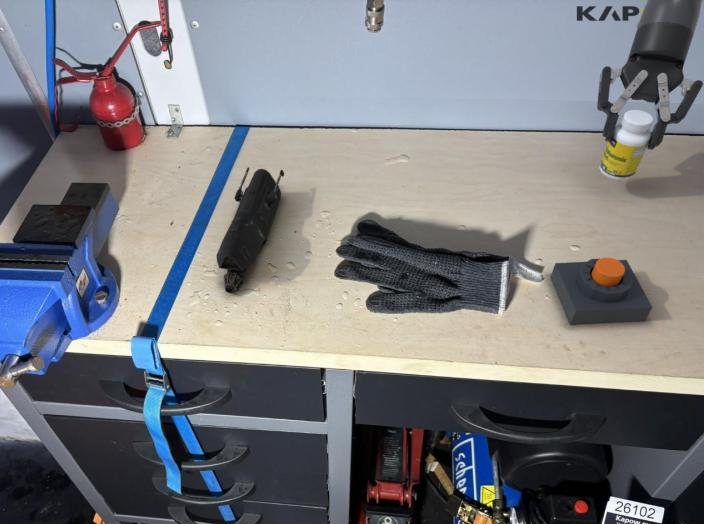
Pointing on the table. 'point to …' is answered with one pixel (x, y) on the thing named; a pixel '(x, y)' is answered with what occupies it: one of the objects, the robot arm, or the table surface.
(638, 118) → the supplement bottle
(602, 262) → the orange button cap
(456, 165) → the table surface
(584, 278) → the button housing
